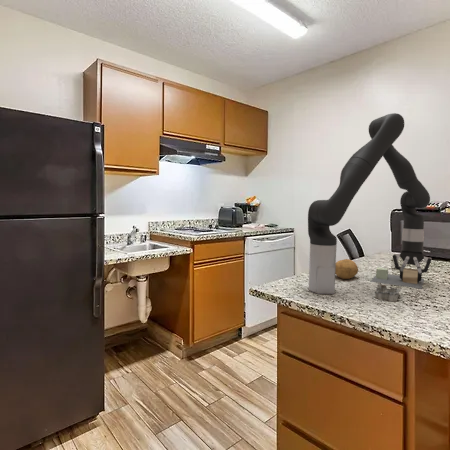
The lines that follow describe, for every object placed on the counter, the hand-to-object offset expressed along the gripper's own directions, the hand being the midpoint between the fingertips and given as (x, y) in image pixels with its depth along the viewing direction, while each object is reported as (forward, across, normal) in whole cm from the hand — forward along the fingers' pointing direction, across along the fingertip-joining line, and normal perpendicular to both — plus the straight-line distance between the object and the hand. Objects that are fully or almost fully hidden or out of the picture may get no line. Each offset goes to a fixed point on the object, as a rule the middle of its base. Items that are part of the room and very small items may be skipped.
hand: (410, 280), depth 126 cm
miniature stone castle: (+1, -5, -28) cm, 28 cm away
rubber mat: (+1, -4, 0) cm, 5 cm away
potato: (+1, -24, -10) cm, 25 cm away
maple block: (0, 0, 0) cm, 0 cm away
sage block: (0, -10, 0) cm, 11 cm away
